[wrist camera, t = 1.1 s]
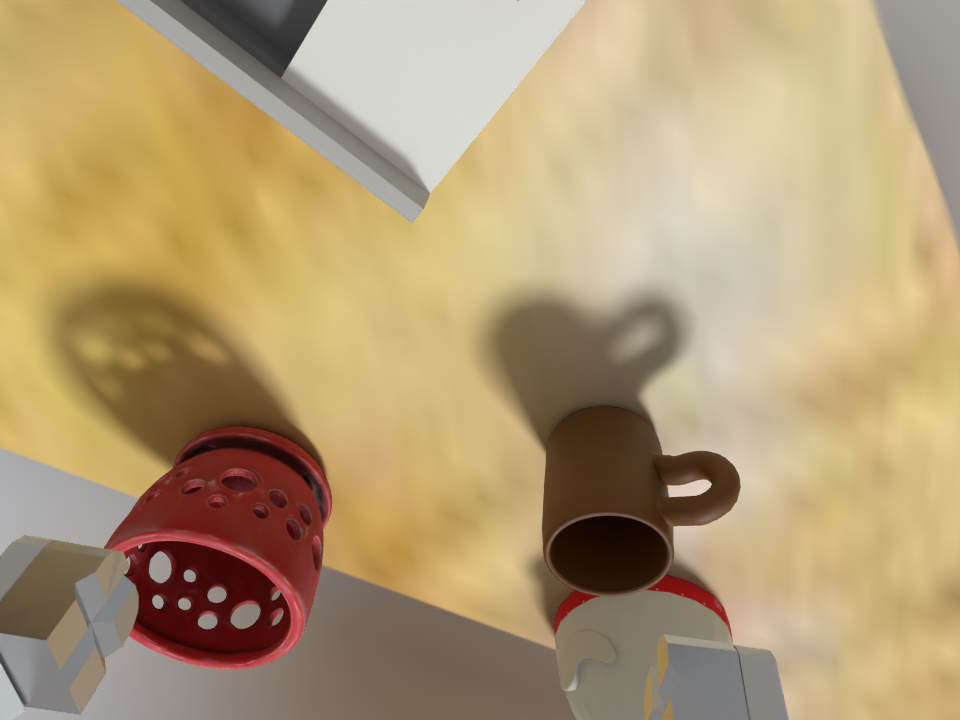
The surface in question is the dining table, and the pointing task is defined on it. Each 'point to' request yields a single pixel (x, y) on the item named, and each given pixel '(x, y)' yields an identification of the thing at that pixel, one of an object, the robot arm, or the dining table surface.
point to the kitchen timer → (627, 643)
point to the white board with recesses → (370, 73)
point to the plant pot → (229, 547)
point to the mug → (622, 501)
